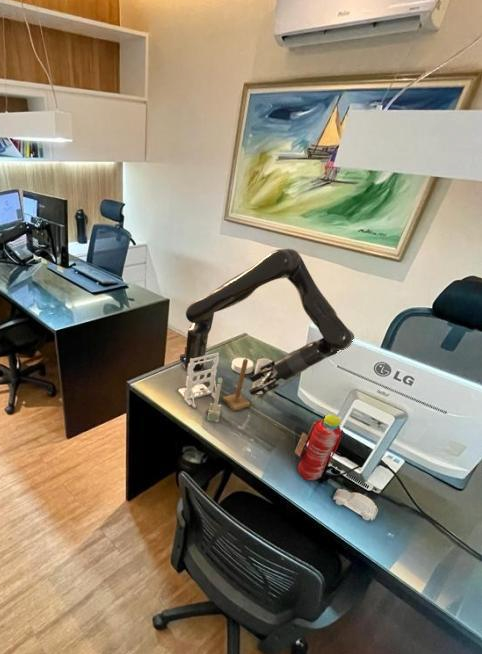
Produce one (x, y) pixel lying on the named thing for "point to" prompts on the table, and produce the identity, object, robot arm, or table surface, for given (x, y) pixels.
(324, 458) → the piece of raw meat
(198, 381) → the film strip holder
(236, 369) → the white ribbed cylinder
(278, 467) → the table surface
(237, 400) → the stand
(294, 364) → the robot arm
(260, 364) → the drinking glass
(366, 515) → the car
